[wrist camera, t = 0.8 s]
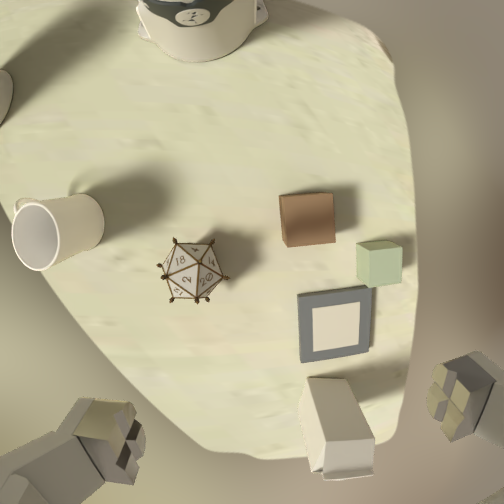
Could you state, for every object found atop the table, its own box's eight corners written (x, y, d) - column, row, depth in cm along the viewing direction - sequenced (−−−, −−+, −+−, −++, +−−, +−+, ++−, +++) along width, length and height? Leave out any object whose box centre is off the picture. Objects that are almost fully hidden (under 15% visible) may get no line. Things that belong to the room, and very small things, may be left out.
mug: (38, 214, 40) (-11, 226, 28) (63, 169, 39) (13, 169, 27) (86, 262, 42) (43, 287, 30) (115, 217, 40) (73, 231, 29)
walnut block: (278, 195, 41) (283, 197, 36) (322, 192, 41) (332, 193, 36) (282, 239, 42) (287, 247, 37) (325, 235, 42) (335, 242, 37)
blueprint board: (297, 294, 44) (298, 297, 42) (368, 285, 44) (372, 287, 42) (299, 359, 46) (301, 363, 45) (365, 348, 46) (368, 352, 45)
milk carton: (306, 376, 47) (332, 464, 28) (346, 378, 47) (385, 458, 29) (296, 408, 48) (315, 494, 30) (334, 408, 49) (364, 489, 30)
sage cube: (355, 243, 42) (369, 250, 37) (386, 240, 42) (402, 247, 37) (356, 276, 43) (369, 287, 38) (386, 272, 43) (401, 282, 39)
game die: (202, 244, 45) (223, 216, 37) (223, 298, 44) (250, 283, 35) (144, 261, 41) (150, 235, 32) (165, 319, 40) (176, 310, 31)
